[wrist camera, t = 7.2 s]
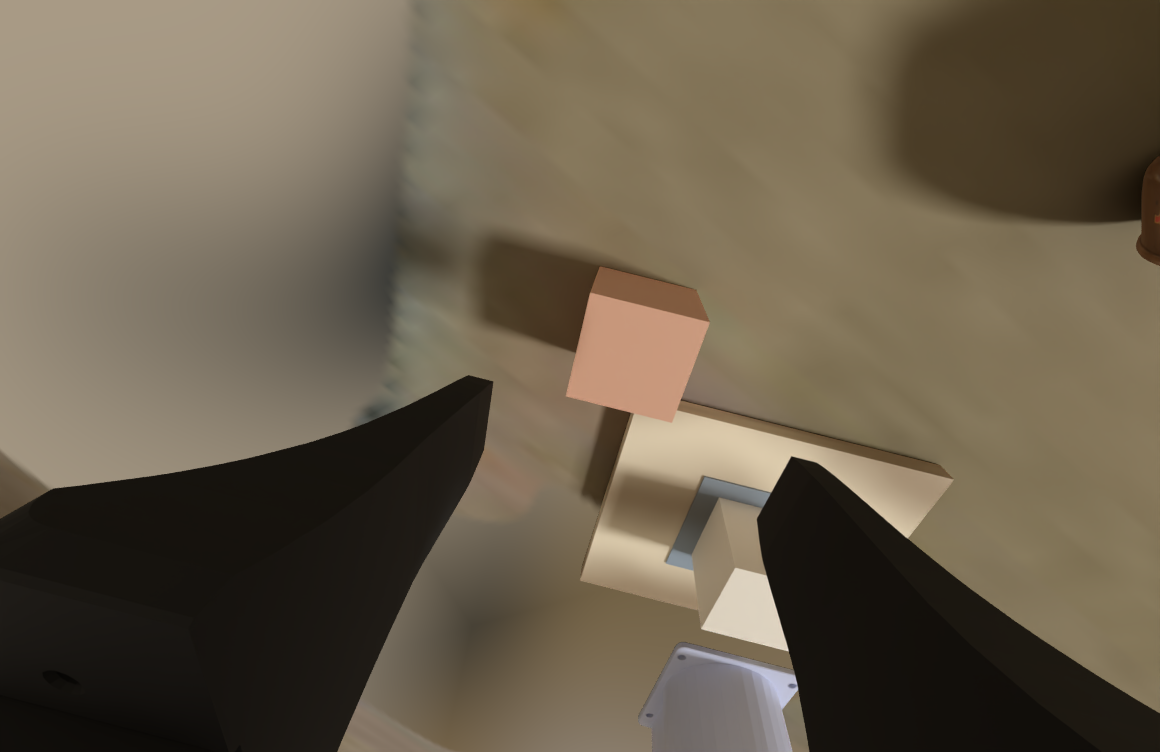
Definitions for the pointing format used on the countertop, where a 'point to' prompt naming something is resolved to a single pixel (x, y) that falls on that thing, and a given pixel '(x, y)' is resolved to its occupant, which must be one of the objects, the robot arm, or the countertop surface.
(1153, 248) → the tin
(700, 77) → the countertop surface
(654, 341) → the block top
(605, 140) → the countertop surface
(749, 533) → the block base
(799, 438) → the base board
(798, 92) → the countertop surface
